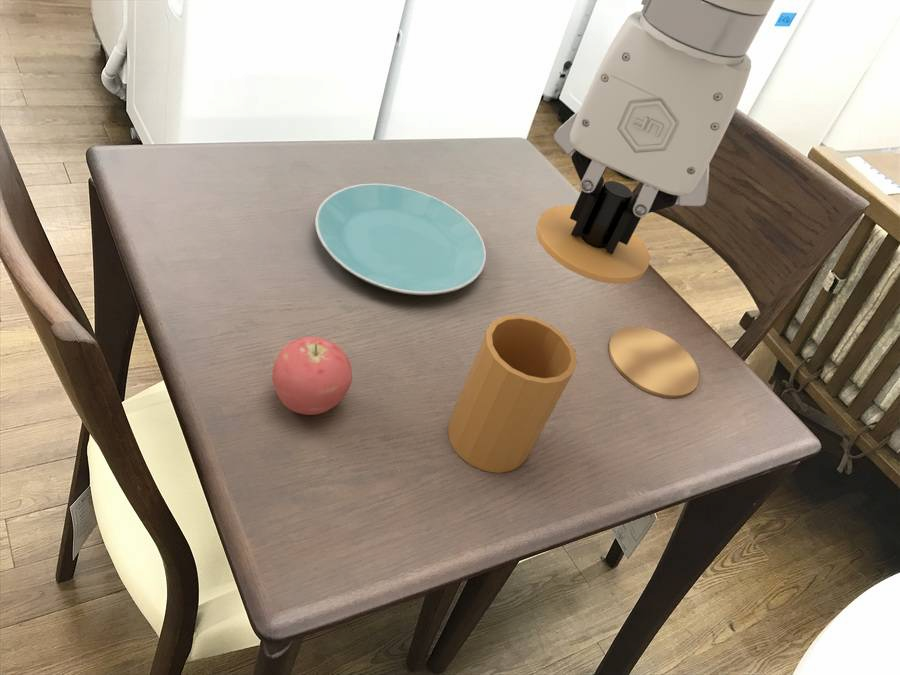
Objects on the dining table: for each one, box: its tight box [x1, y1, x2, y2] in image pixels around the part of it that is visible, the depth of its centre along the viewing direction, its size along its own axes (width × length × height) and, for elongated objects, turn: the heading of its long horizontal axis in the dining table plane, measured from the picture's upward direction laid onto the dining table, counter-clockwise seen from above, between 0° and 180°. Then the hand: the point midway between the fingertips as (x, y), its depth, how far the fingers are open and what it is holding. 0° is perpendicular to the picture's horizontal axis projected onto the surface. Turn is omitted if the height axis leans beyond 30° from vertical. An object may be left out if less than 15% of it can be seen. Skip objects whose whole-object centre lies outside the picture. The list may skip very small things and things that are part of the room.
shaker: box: [447, 314, 578, 474], centre depth 75 cm, size 9×9×14 cm
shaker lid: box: [535, 180, 650, 285], centre depth 62 cm, size 10×10×6 cm
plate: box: [314, 182, 487, 296], centre depth 98 cm, size 22×22×3 cm
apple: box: [271, 336, 353, 416], centre depth 74 cm, size 7×7×8 cm
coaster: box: [607, 326, 700, 399], centre depth 96 cm, size 12×12×1 cm
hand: (596, 236), depth 63 cm, fingers closed on shaker lid, 2 cm apart
